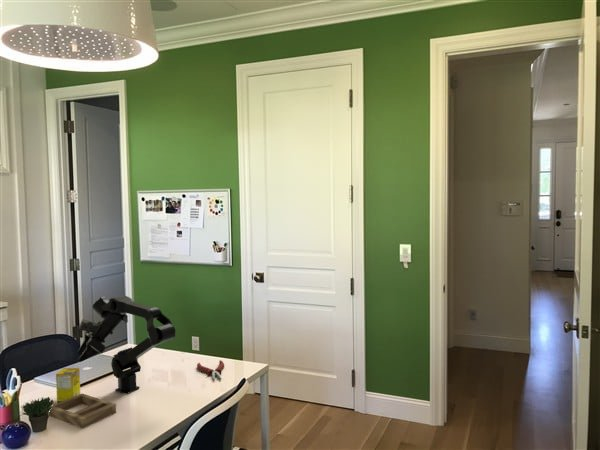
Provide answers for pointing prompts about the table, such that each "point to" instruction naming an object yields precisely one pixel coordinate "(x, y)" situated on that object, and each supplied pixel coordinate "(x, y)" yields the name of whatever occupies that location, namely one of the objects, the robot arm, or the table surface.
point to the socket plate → (82, 410)
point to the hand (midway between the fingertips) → (78, 357)
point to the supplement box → (67, 383)
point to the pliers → (211, 371)
